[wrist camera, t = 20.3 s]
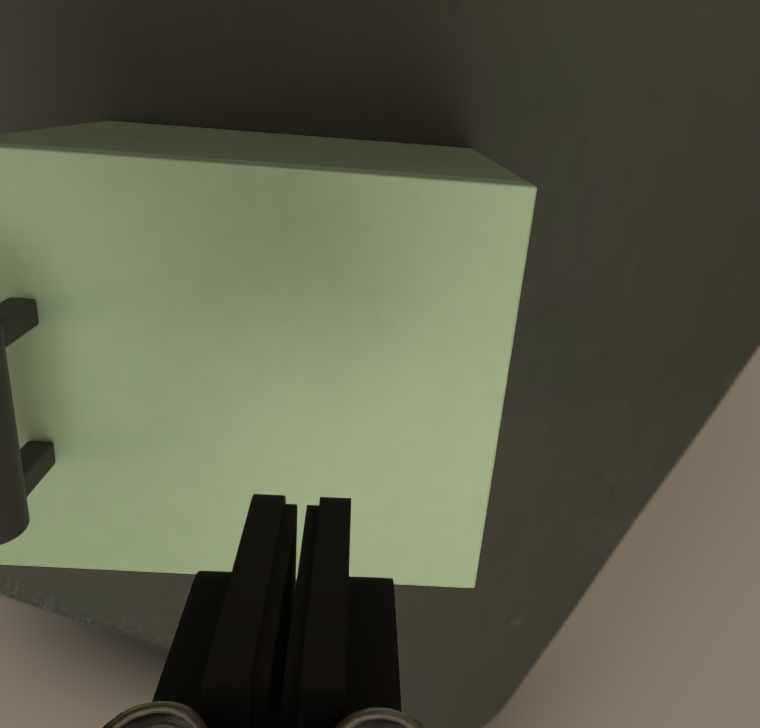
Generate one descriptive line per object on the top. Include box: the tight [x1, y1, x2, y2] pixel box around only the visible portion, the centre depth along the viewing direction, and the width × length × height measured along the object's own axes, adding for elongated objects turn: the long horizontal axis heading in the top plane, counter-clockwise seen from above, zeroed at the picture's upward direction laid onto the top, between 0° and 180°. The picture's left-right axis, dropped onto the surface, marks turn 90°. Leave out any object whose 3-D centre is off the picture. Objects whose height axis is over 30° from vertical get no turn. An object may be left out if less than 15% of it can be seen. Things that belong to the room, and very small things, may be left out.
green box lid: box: [0, 143, 537, 588], centre depth 17 cm, size 15×12×4 cm
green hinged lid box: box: [0, 121, 527, 182], centre depth 23 cm, size 14×12×10 cm
